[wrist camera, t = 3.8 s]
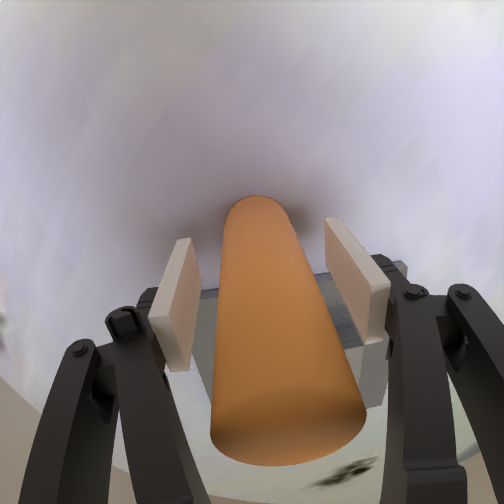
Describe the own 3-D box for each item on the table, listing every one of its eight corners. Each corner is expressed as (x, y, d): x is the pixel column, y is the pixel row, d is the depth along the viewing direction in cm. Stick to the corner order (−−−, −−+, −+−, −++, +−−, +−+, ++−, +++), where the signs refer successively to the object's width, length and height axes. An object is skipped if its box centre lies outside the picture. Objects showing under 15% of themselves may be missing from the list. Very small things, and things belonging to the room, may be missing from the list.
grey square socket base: (177, 294, 21) (169, 326, 18) (401, 260, 21) (424, 285, 18) (222, 423, 28) (222, 452, 25) (378, 397, 28) (389, 423, 25)
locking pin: (219, 201, 19) (191, 398, 6) (286, 191, 19) (376, 370, 6) (230, 260, 21) (227, 471, 8) (292, 251, 20) (357, 451, 8)
